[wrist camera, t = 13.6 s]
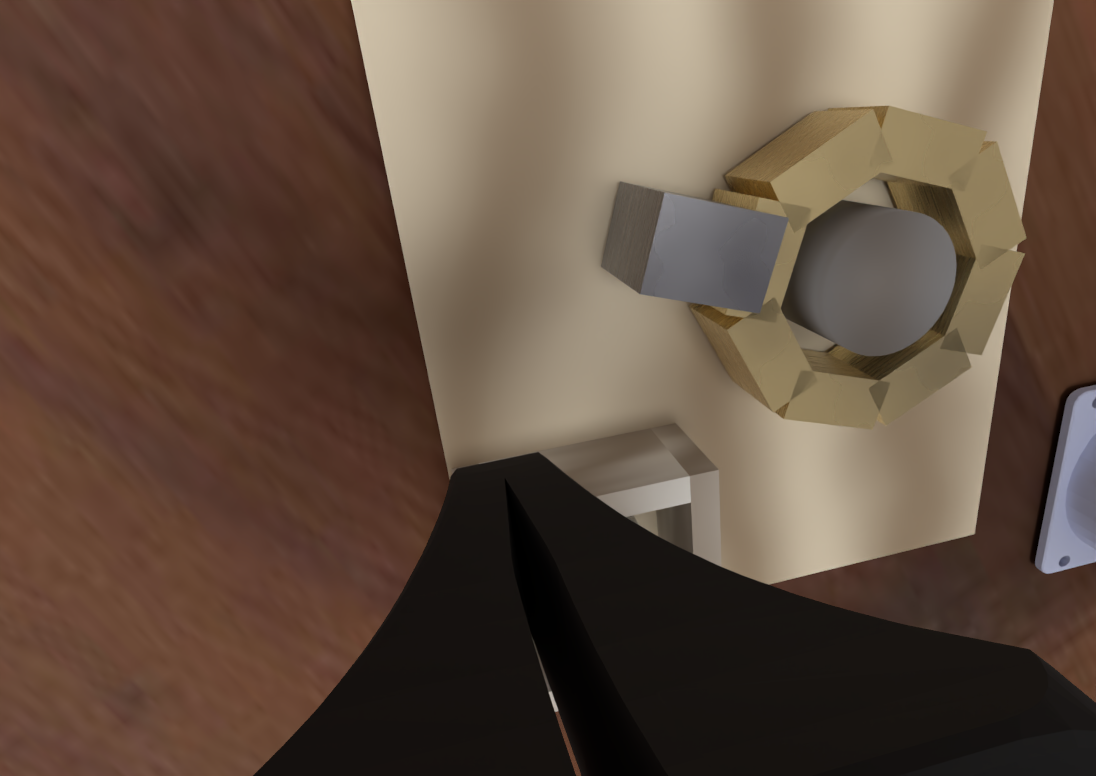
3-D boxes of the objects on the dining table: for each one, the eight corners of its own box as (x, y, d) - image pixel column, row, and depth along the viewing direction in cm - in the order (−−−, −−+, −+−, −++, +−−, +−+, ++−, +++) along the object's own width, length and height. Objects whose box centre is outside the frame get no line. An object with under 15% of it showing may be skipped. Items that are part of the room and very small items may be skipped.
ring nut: (646, 61, 16) (700, 47, 13) (990, 149, 19) (1098, 154, 16) (578, 366, 19) (611, 410, 16) (890, 405, 21) (968, 450, 18)
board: (1026, -76, 18) (1194, -130, 14) (949, 516, 25) (1046, 585, 22) (351, -5, 16) (334, -49, 12) (481, 628, 23) (497, 729, 19)
